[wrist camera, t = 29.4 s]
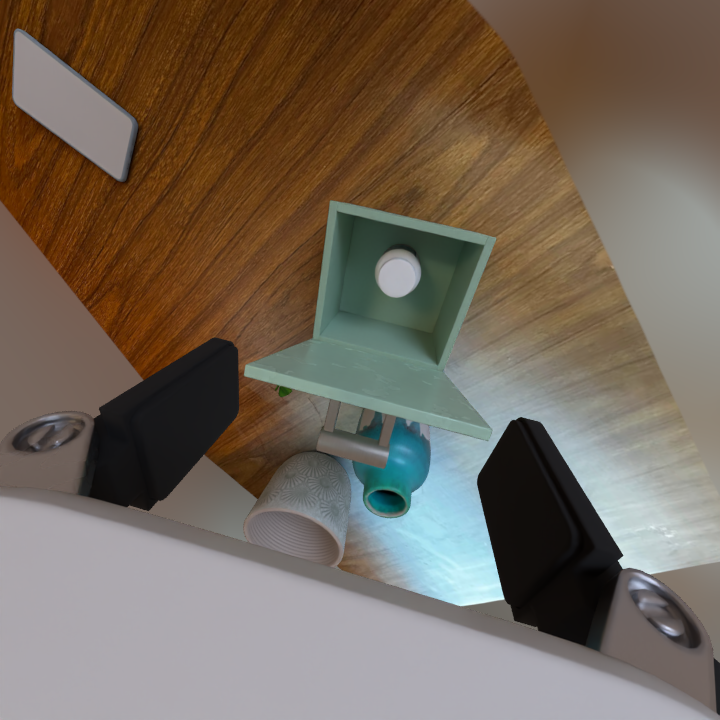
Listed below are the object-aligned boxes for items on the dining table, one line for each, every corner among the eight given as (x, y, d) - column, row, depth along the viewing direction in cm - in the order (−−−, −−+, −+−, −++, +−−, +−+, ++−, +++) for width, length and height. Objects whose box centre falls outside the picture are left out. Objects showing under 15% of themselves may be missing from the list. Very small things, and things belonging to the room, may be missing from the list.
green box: (351, 203, 36) (329, 199, 26) (473, 231, 35) (496, 238, 25) (334, 312, 43) (312, 340, 33) (435, 337, 42) (442, 373, 32)
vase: (394, 364, 45) (383, 453, 28) (441, 404, 47) (456, 510, 30) (352, 401, 50) (321, 497, 33) (396, 436, 52) (388, 543, 35)
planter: (375, 469, 56) (363, 548, 43) (332, 507, 64) (310, 584, 51) (304, 423, 54) (268, 492, 41) (268, 468, 62) (228, 539, 48)
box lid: (245, 364, 18) (232, 444, 19) (493, 430, 17) (464, 509, 18) (311, 338, 33) (302, 383, 34) (443, 372, 32) (429, 417, 33)
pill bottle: (373, 255, 37) (362, 266, 29) (410, 235, 35) (409, 241, 28) (390, 291, 39) (384, 310, 31) (426, 274, 37) (429, 290, 29)
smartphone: (121, 184, 38) (10, 102, 36) (127, 185, 39) (19, 105, 37) (135, 120, 34) (12, 23, 32) (142, 122, 35) (23, 27, 33)
